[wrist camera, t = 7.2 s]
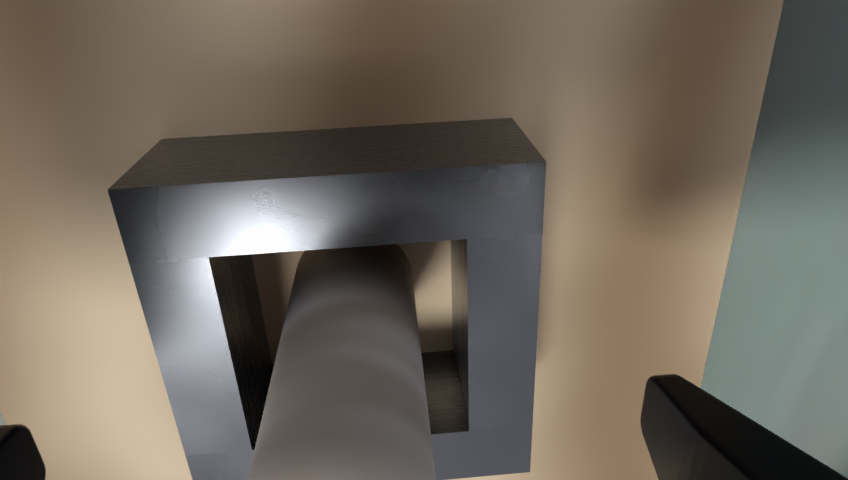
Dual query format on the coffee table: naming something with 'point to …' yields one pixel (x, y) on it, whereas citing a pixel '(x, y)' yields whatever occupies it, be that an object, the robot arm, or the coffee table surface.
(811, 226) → the coffee table surface
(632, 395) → the wooden peg base
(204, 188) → the collar
